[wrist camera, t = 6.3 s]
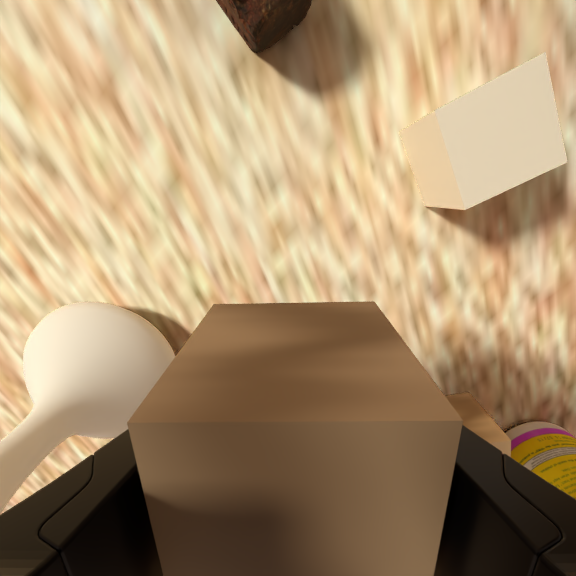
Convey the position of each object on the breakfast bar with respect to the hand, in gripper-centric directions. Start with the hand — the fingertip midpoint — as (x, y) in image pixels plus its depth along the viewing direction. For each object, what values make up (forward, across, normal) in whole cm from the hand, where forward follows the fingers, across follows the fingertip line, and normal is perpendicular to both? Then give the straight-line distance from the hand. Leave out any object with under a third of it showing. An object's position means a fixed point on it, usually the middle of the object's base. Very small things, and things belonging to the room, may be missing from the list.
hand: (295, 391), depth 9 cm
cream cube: (+13, -10, -8) cm, 18 cm away
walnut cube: (+1, 0, 0) cm, 1 cm away
